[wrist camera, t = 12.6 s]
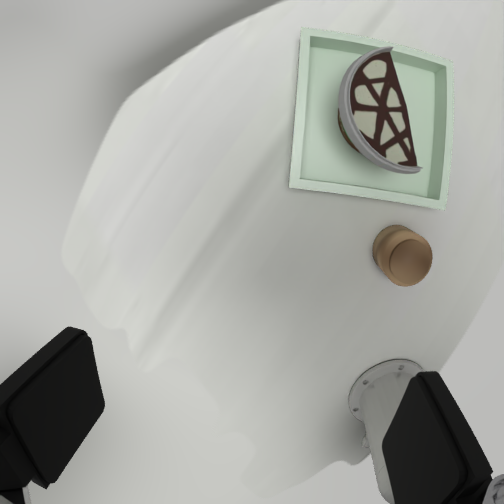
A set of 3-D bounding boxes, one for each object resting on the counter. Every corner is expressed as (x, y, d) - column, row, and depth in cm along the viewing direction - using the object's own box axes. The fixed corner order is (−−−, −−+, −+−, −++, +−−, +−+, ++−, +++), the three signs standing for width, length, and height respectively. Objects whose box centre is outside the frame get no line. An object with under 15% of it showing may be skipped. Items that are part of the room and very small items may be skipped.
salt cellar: (411, 274, 37) (428, 290, 32) (368, 269, 38) (381, 286, 32) (420, 228, 36) (440, 238, 30) (376, 221, 36) (391, 231, 31)
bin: (430, 205, 35) (445, 210, 31) (288, 185, 36) (288, 187, 32) (439, 69, 30) (452, 61, 26) (299, 40, 31) (301, 27, 27)
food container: (315, 76, 32) (325, 45, 22) (366, 70, 31) (391, 41, 21) (339, 179, 35) (359, 184, 25) (389, 171, 34) (424, 174, 24)
